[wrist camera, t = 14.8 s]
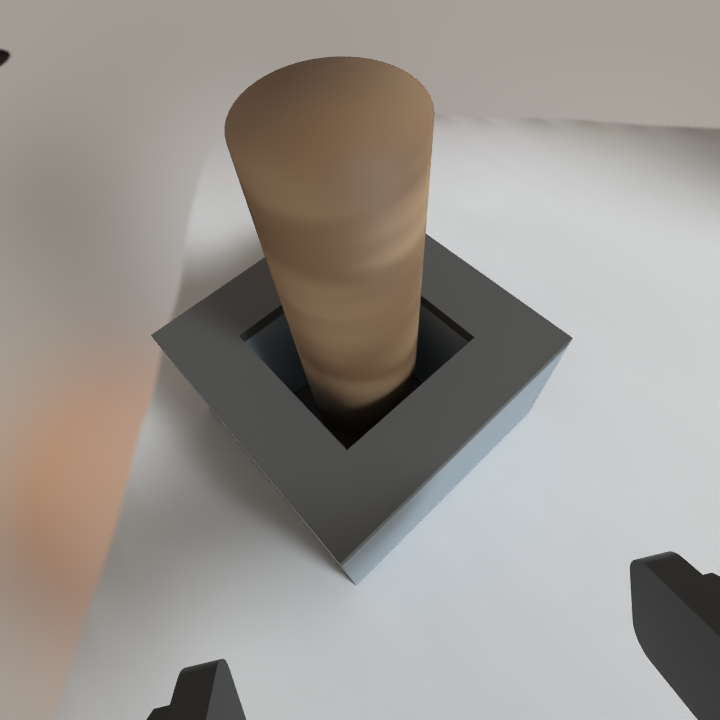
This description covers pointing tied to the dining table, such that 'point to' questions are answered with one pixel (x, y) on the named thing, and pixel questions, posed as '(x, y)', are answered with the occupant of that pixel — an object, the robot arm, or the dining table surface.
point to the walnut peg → (341, 223)
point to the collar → (397, 429)
